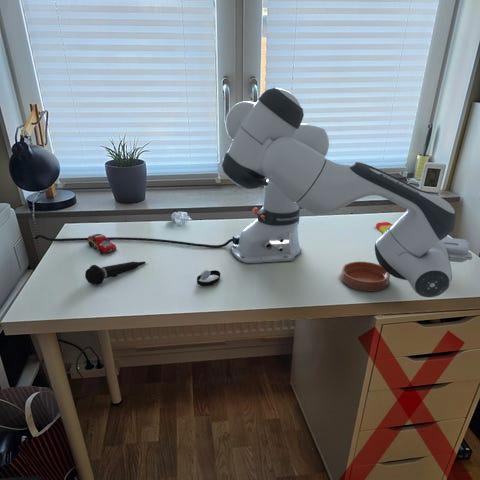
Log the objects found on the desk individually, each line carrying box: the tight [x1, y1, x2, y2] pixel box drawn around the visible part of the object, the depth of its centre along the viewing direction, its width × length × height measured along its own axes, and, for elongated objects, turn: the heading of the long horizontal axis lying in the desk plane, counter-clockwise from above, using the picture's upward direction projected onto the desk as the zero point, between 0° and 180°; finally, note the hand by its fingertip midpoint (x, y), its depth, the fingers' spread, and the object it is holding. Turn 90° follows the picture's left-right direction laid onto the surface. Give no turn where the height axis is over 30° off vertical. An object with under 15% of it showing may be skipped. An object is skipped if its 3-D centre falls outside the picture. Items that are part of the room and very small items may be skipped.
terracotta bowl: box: [340, 261, 391, 292], centre depth 127 cm, size 13×13×3 cm
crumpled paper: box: [170, 211, 193, 226], centre depth 166 cm, size 8×4×7 cm
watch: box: [196, 269, 221, 287], centre depth 126 cm, size 8×5×4 cm, turn 131°
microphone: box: [84, 261, 146, 286], centre depth 129 cm, size 6×6×20 cm
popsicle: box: [375, 221, 393, 234], centre depth 158 cm, size 6×15×2 cm, turn 15°
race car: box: [87, 233, 117, 256], centre depth 145 cm, size 13×5×4 cm, turn 39°
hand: (423, 234), depth 119 cm, fingers open, 8 cm apart
